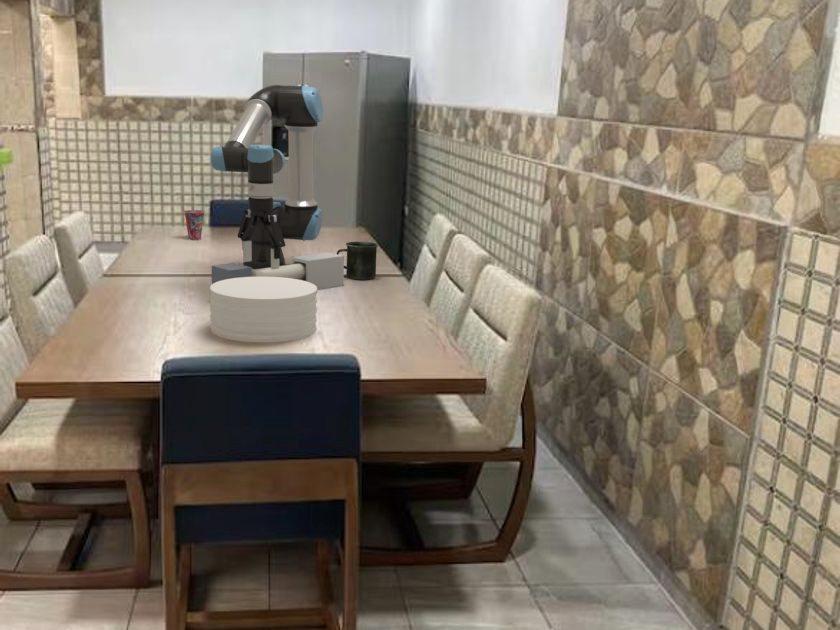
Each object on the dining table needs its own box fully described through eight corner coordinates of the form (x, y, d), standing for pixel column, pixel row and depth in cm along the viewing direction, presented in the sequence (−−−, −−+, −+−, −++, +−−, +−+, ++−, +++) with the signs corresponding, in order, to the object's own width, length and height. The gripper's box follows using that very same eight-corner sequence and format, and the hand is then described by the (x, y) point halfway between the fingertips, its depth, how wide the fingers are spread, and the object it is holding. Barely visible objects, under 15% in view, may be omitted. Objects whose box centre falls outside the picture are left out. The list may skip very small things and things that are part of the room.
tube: (302, 277, 279) (302, 258, 277) (315, 281, 275) (316, 261, 273) (222, 290, 255) (222, 269, 253) (235, 294, 251) (235, 272, 249)
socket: (233, 296, 260) (233, 262, 258) (251, 301, 254) (251, 267, 252) (211, 299, 254) (211, 265, 252) (230, 305, 249) (229, 270, 246)
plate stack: (221, 346, 208) (221, 301, 205) (202, 318, 233) (201, 278, 230) (329, 339, 219) (330, 296, 216) (300, 313, 244) (300, 274, 241)
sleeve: (327, 281, 289) (328, 252, 286) (343, 285, 284) (344, 255, 281) (291, 287, 277) (292, 257, 274) (307, 291, 272) (308, 260, 269)
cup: (202, 241, 356) (201, 212, 353) (182, 240, 356) (181, 211, 353) (207, 237, 365) (207, 210, 362) (188, 236, 365) (187, 209, 362)
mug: (376, 281, 293) (377, 247, 290) (334, 279, 292) (335, 245, 289) (377, 275, 303) (378, 242, 300) (336, 273, 303) (337, 240, 300)
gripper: (225, 192, 260) (226, 259, 266) (277, 202, 244) (277, 273, 250) (245, 191, 266) (245, 257, 271) (297, 200, 250) (296, 270, 256)
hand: (261, 265), depth 261 cm, fingers open, 13 cm apart
